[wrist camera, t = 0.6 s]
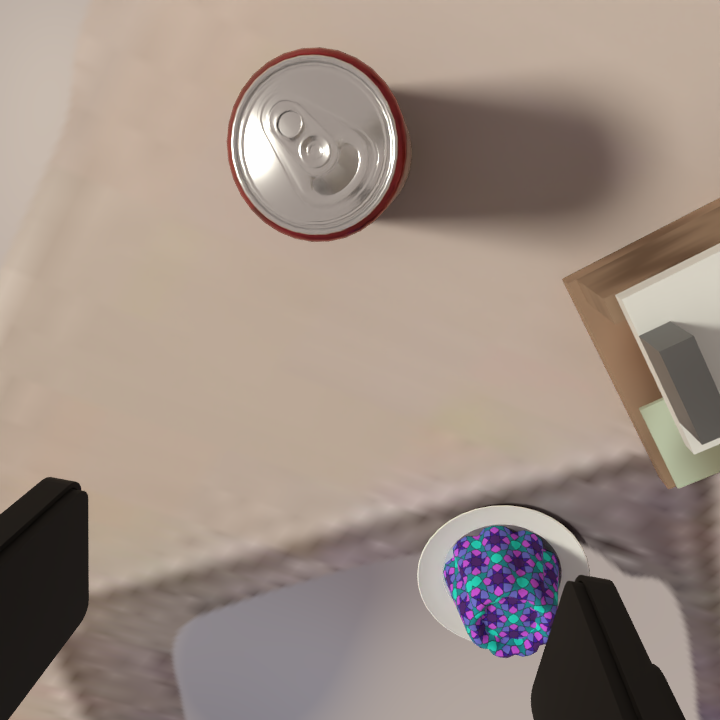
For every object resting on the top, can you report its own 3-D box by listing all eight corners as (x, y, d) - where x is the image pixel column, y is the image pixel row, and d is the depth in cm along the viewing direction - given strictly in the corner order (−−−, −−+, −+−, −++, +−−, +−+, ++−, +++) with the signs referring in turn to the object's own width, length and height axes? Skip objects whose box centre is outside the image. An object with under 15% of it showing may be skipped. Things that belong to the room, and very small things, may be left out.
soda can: (437, 162, 33) (446, 158, 22) (343, 244, 35) (307, 280, 24) (355, 57, 32) (319, -4, 21) (262, 148, 34) (184, 139, 23)
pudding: (497, 467, 39) (507, 509, 34) (623, 569, 41) (651, 624, 36) (384, 574, 43) (378, 627, 38) (504, 665, 45) (514, 727, 40)
